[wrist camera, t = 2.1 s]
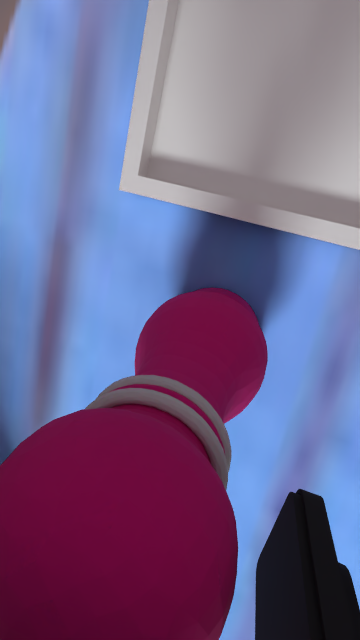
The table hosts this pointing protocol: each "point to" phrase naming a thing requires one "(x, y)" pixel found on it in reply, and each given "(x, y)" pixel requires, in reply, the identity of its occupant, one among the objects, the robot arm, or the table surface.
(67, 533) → the pepper mill
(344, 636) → the robot arm
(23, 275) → the table surface
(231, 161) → the tray
